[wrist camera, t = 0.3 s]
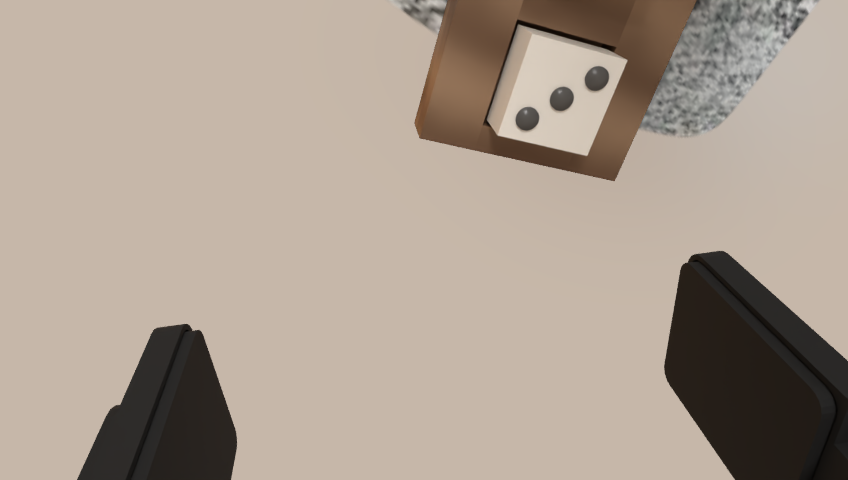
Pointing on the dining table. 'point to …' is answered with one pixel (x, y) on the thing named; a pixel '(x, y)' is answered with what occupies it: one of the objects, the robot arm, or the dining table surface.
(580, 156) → the panel
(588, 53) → the tile three
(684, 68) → the dining table surface
